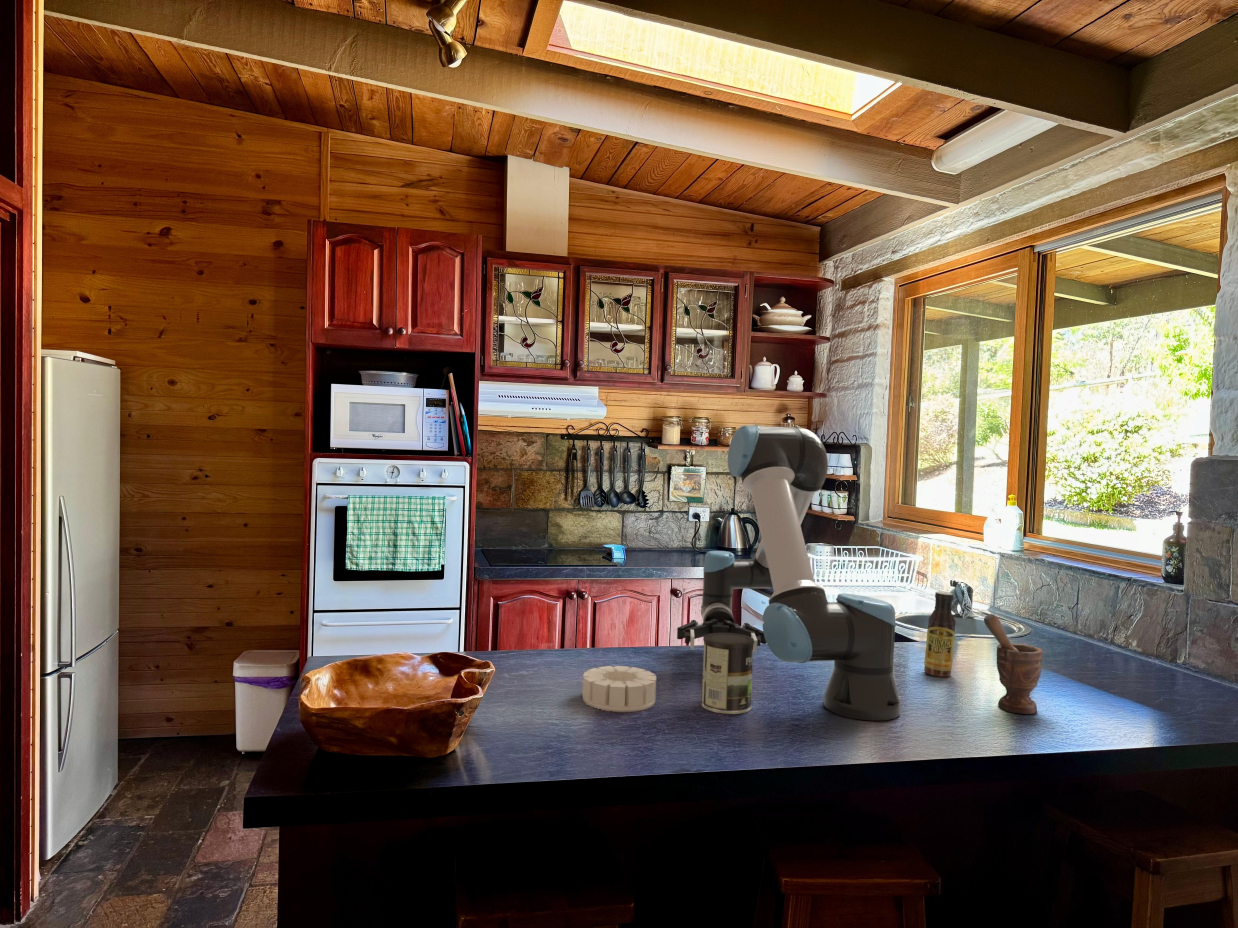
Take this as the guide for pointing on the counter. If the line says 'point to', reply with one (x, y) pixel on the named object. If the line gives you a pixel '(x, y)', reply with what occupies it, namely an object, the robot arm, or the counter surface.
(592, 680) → the cream cog ring
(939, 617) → the sauce bottle
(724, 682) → the coffee can
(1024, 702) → the mortar and pestle
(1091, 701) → the counter surface
